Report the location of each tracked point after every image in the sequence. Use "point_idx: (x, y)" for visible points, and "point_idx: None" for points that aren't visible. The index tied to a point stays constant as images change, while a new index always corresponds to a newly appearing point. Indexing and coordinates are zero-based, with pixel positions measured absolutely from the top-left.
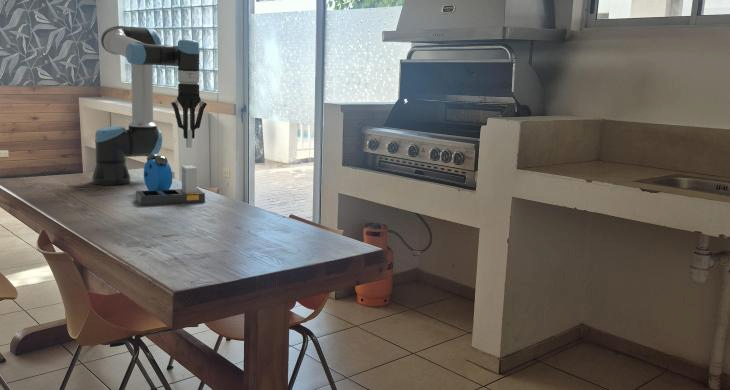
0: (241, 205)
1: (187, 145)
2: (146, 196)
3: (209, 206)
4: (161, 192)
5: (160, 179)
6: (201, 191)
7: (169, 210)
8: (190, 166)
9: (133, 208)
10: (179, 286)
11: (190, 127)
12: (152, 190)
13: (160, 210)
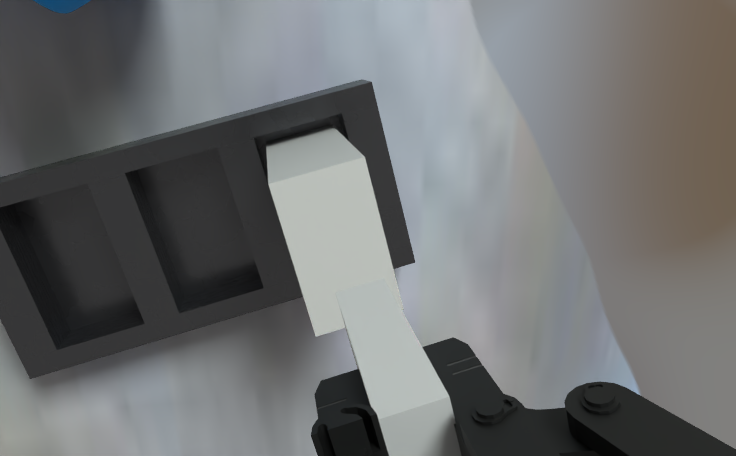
0: (580, 311)
1: (356, 363)
2: (65, 367)
3: (423, 342)
4: (138, 240)
5: (74, 9)
6: (396, 195)
7: (227, 444)
8: (350, 227)
9: (24, 414)
10: None
11: (468, 448)
12: (60, 170)
13: (181, 447)
